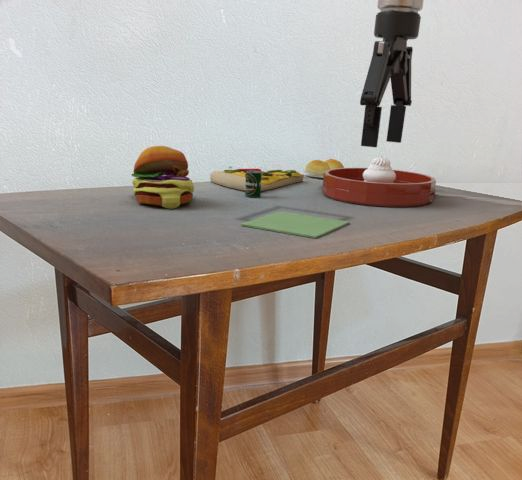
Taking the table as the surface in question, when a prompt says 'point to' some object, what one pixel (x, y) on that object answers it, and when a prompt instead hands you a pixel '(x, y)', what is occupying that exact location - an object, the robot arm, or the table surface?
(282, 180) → the pizza slice
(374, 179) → the muffin
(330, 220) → the cloth
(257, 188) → the beer can
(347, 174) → the pan
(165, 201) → the cheeseburger
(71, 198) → the table surface
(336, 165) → the bread roll
